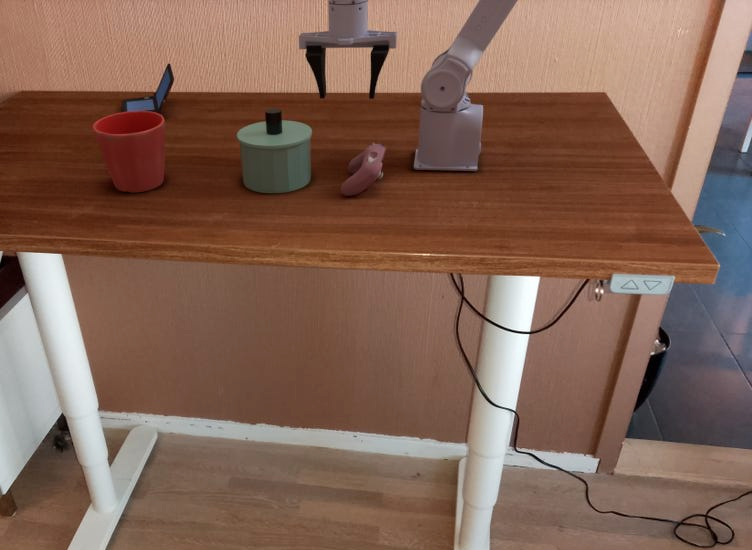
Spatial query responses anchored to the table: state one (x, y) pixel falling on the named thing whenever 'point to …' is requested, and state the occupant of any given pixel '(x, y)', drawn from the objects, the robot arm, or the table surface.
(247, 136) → the pot lid
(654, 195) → the table surface
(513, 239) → the table surface
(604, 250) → the table surface
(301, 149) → the pot
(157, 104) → the handheld console
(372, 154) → the video game controller
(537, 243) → the table surface
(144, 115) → the flower pot
